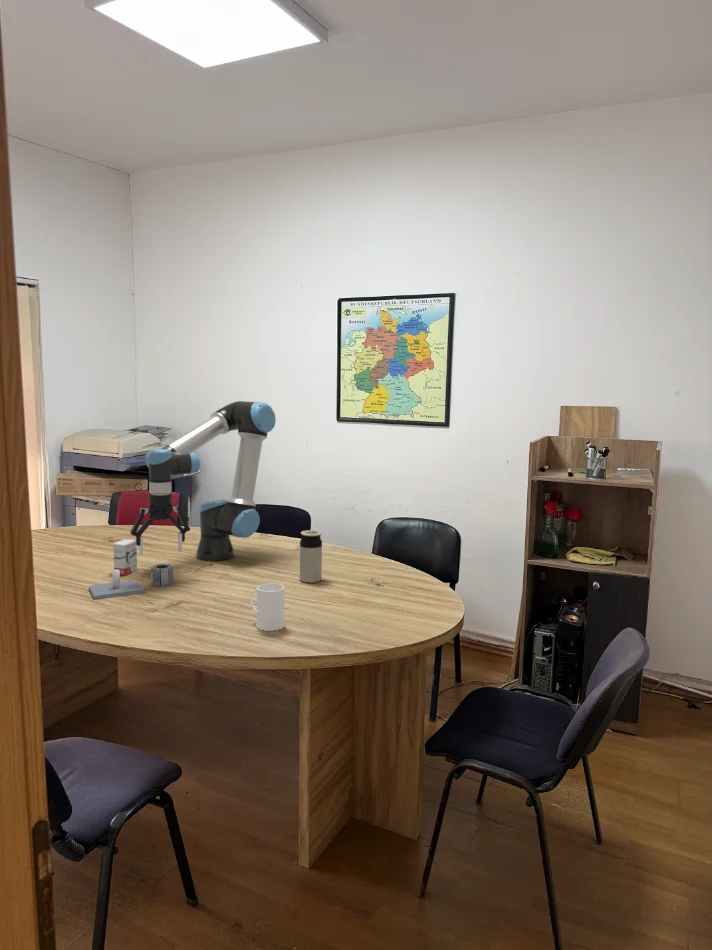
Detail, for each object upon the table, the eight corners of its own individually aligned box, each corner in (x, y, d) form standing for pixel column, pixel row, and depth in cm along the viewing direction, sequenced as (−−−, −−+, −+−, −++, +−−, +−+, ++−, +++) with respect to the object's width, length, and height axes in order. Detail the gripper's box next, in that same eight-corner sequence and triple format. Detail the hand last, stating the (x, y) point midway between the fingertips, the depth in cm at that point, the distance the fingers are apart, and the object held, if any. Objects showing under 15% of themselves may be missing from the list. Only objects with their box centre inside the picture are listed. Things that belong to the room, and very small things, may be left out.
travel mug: (325, 578, 244) (325, 531, 241) (314, 584, 237) (315, 536, 234) (306, 575, 247) (306, 529, 245) (295, 581, 240) (296, 533, 237)
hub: (170, 578, 240) (169, 563, 239) (175, 584, 234) (174, 568, 233) (149, 581, 236) (149, 565, 235) (154, 587, 230) (154, 570, 229)
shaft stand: (137, 582, 234) (136, 563, 233) (144, 592, 224) (143, 572, 223) (89, 589, 227) (88, 568, 226) (94, 599, 216) (93, 578, 215)
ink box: (125, 576, 242) (124, 544, 240) (113, 575, 243) (112, 544, 241) (137, 569, 251) (137, 539, 249) (126, 568, 252) (125, 538, 250)
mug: (242, 624, 197) (242, 585, 196) (261, 616, 204) (261, 579, 202) (271, 633, 191) (272, 593, 189) (290, 625, 198) (291, 586, 196)
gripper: (192, 490, 240) (192, 547, 242) (121, 493, 227) (122, 553, 230) (198, 493, 233) (198, 551, 236) (125, 497, 221) (126, 558, 224)
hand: (160, 552), depth 233 cm, fingers open, 13 cm apart
